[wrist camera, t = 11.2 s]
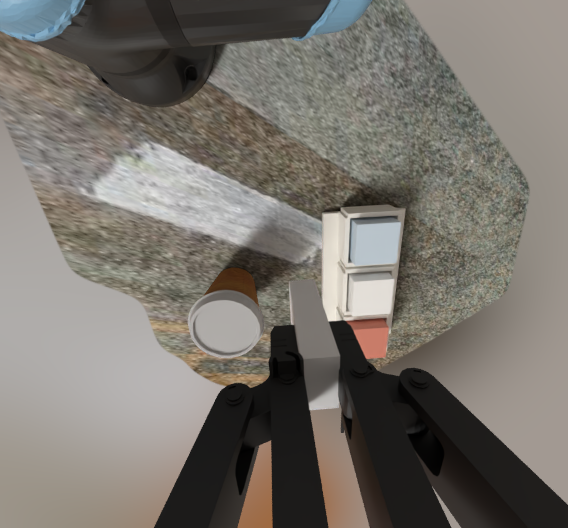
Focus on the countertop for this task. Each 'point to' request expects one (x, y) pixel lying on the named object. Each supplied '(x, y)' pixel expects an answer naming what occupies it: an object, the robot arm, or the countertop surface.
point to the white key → (369, 293)
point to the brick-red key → (371, 336)
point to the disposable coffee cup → (227, 316)
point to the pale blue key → (374, 240)
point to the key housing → (340, 264)
